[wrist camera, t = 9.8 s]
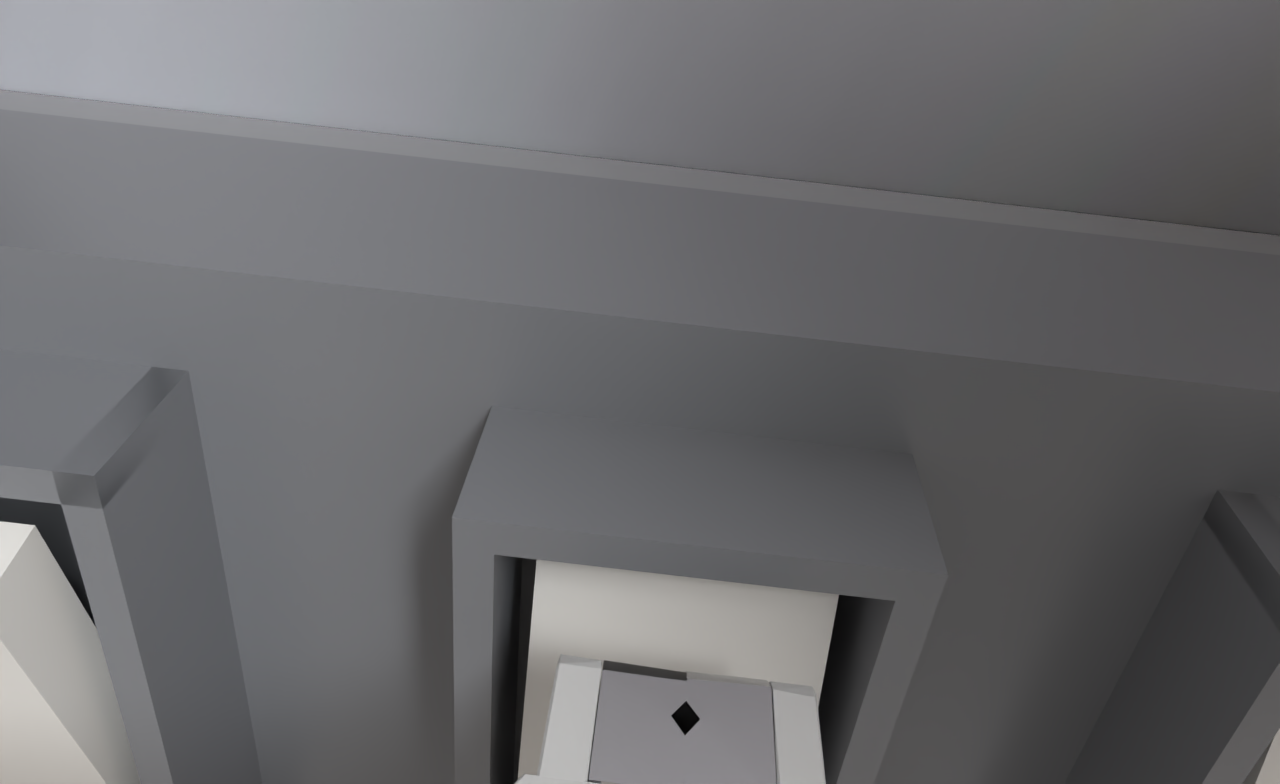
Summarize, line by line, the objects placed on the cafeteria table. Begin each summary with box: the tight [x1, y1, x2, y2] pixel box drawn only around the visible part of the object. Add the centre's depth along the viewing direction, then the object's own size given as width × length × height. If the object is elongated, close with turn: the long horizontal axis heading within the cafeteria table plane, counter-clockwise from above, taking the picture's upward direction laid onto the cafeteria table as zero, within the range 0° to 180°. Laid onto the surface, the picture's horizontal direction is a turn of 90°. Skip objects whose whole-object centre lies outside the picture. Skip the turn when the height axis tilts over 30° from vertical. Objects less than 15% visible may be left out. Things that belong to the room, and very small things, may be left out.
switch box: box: [0, 90, 1280, 784], centre depth 19 cm, size 20×32×8 cm, turn 85°
